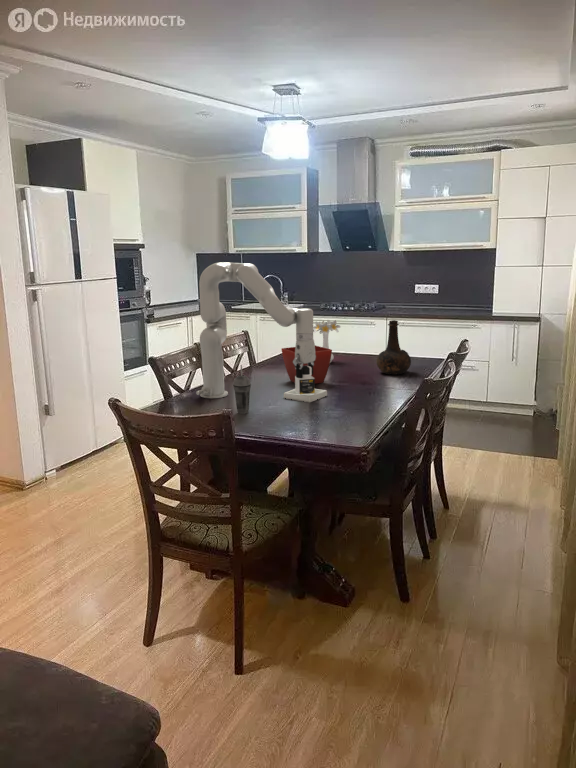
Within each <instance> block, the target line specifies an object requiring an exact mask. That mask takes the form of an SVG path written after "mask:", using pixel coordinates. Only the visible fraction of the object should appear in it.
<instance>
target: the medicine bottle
mask: <svg viewBox="0 0 576 768" xmlns="http://www.w3.org/2000/svg"><path fill="white" fill-rule="evenodd" d="M302 369H303V378H297V377H296V376H295V383H294V389H295V391H296V392H297V393H298V394H300V395H302V394H314V393H315V389H316V388H315V387H316V386H315V385H316V384H315V378H314V377H312V376H311V375H312V368H311V367H310V366H302Z"/></svg>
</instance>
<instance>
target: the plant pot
mask: <svg viewBox="0 0 576 768" xmlns="http://www.w3.org/2000/svg"><path fill="white" fill-rule="evenodd" d="M331 354H333V349H331V348H329V349H328V348H324V347H323V346H319V345H315V355H316V358H315V362H314V366H313V375H311V376H312V377H314V378H315V385H316V384H322V383H324V382H325V380H326V376H327V374H328V371H329V367H330V364H331V363H330V360H331ZM281 355H282V358H283V363H284V366H285V370H286V373H287V375H288V378H289V380H290V382H292V383H294V384H295V376H296V369H295V366H294V363H293V360H294V359H295V346H291V347H282V348H281ZM299 365H300V364H299ZM307 365H308V364H307V363H306V364H303V366H307Z"/></svg>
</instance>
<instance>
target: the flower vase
mask: <svg viewBox="0 0 576 768" xmlns="http://www.w3.org/2000/svg"><path fill="white" fill-rule="evenodd" d="M326 321H327V322H325V320H322V322H321V321H319V322H318V321H315V323H314V325H315V326H314V325H313V334H315V333H316V332H318V331H319V335H320V334H322V347H324V348H328V349H330V348H329V334H330V332H333V331H335V332H336V333H339V329H340V328H341V325H338V324H337V320H336V319H335V320H333V321H331V320H330V319H327V320H326ZM334 358H335V357H334V354H333V353H332V354H331V360H330V364H331V363H332V361H333V360H334Z"/></svg>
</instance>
